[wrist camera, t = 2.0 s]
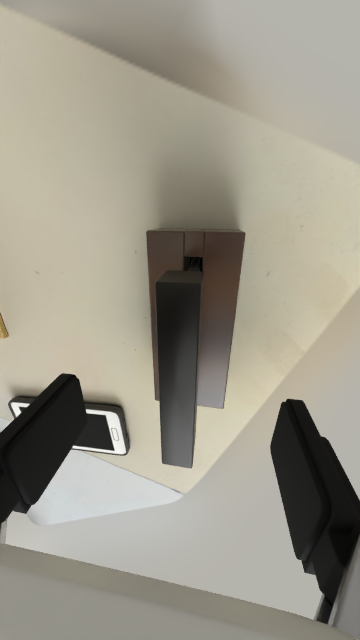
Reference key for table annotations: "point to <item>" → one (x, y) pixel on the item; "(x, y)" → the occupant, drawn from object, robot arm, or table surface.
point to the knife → (179, 359)
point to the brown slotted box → (218, 297)
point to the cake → (2, 329)
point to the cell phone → (93, 428)
